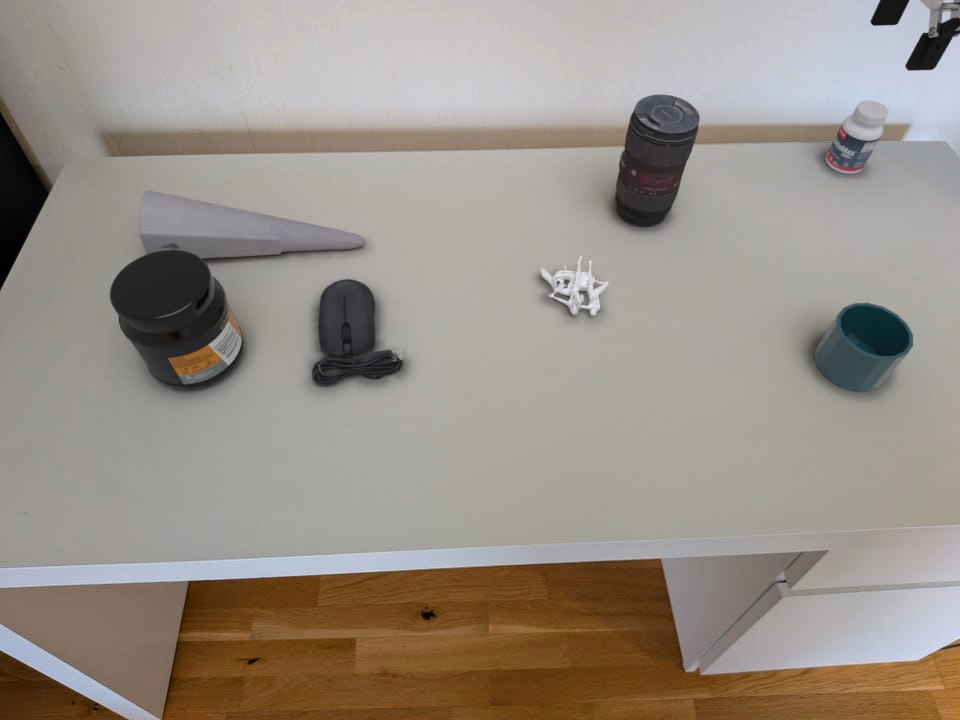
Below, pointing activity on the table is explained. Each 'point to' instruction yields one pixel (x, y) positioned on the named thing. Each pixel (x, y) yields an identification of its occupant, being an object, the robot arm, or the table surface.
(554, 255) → the table surface
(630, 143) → the camera lens
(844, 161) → the pill bottle
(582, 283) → the figurine
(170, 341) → the supplement container
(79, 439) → the table surface
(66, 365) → the table surface
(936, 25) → the robot arm
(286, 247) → the tapered wedge
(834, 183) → the table surface
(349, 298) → the computer mouse
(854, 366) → the cup
